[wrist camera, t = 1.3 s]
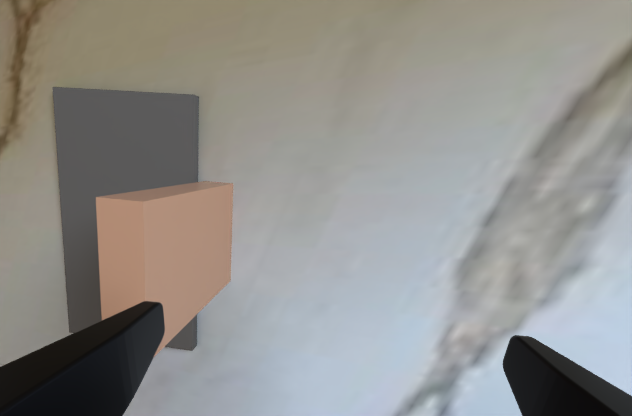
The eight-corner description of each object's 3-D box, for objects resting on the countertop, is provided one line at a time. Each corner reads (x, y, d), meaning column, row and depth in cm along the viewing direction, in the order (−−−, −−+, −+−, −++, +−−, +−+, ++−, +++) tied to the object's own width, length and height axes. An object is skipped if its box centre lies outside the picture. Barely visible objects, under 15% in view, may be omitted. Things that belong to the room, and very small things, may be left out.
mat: (196, 345, 23) (192, 350, 22) (76, 327, 24) (69, 332, 23) (198, 96, 20) (193, 94, 19) (61, 88, 21) (52, 86, 20)
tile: (230, 280, 22) (146, 364, 13) (202, 277, 22) (101, 357, 13) (233, 183, 20) (143, 201, 12) (203, 180, 21) (93, 197, 12)
